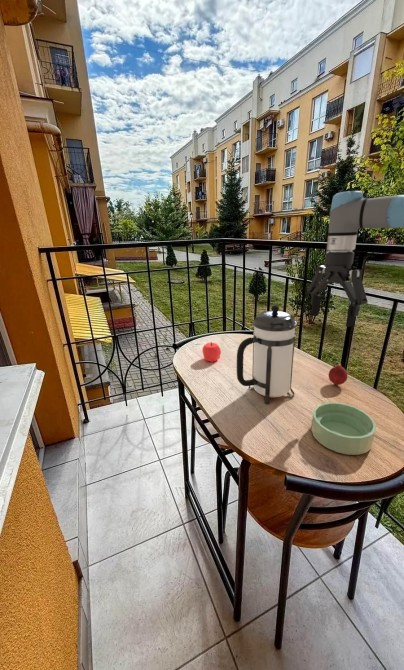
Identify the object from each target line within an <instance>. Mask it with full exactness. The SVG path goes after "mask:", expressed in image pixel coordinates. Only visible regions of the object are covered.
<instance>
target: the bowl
mask: <svg viewBox="0 0 404 670" xmlns="http://www.w3.org/2000/svg"><path fill="white" fill-rule="evenodd" d="M313 409H314V410H313V412H312V420H311V430H310V431H311V433H312V435H313V438H315V440H316V441H317V442H318V443H319V444H320V445H322V446H323V447H325V448H326V449H329V450H331V451H334V452H336V453H339V454H343V455H348V456H351V455H352V456H359V455H363V454H366V453H367V452H368V451H370V450H371V449H372V447H373V445H374V439H375V435H376V430H377V425H376V422H375V420H374V419H373V418H372V416H371V415H370V414H368V413H367V412H366V411H364V410H362V409H360V408H358V407H356V406H354V405H350V404H348V403H343V402H325V403H321V404H319V405H317V406H316V407H315V408H313Z"/></svg>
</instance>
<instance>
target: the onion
mask: <svg viewBox="0 0 404 670" xmlns="http://www.w3.org/2000/svg"><path fill="white" fill-rule="evenodd" d="M348 377H349V376H348V371H347V370H346V369H345V368H344V367H343V366H342V363H338V364H337V365H336V366H333V367H331V369H330V370H329V372H328V379H329V381H330V382H331V383H332V384H333V385H334V386H339V385H343V384H345V383H346V382H347V380H348Z"/></svg>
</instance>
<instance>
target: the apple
mask: <svg viewBox="0 0 404 670" xmlns="http://www.w3.org/2000/svg"><path fill="white" fill-rule="evenodd" d="M201 349H202V350H201V353H202V356H203V359H204V360H205V361H207V362H209V361H210V363H214V362H216V361H218V360H219V359H220V358H221V354H222V350H221V348H220V345H218V343H216V342H212V341H210V342H207V343H205V344H204V345H203V347H202V348H201ZM213 361H214V362H213Z"/></svg>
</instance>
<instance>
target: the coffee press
mask: <svg viewBox="0 0 404 670" xmlns="http://www.w3.org/2000/svg"><path fill="white" fill-rule="evenodd" d="M297 324H298V323H297V321H296V319H295V316H293V315H292V314H291V313H288V312H286V311H282V310H280V307H279V306H278V305H277V304H274V305H272V306H271V308H270V310H267V311H262V312H260V313H258V314H257V315H256V316H255V318H254V319H253V321H252V325H253V332H252V333H253V335H252V336H251V337H248V338H245V339H244V340H242V341H241V342H240V344H239V345H238V348H237V351H236V379H237V381H238V383H239V384H240V385H242V386H244V387H248V389H249V390H250V391H253V390H255V392H256V393H257V394H259V395H261V396H263V397H264V401H263V403H264V404H266V405H269V404H270V401H271V400H270V399H271V398H280V397H283V396H286V395H288V397H289V398H294V397H295V391H294V390H293V389H292V381H293V368H294V356H295V345H296V343H295V341H296V333H295V332H296V328H297ZM250 345H252V377H251V379H245V378H244V354H245V353H244V352H245V350H246V348H247V347H248V346H250ZM290 392H291V393H292V394H291V393H290Z"/></svg>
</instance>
